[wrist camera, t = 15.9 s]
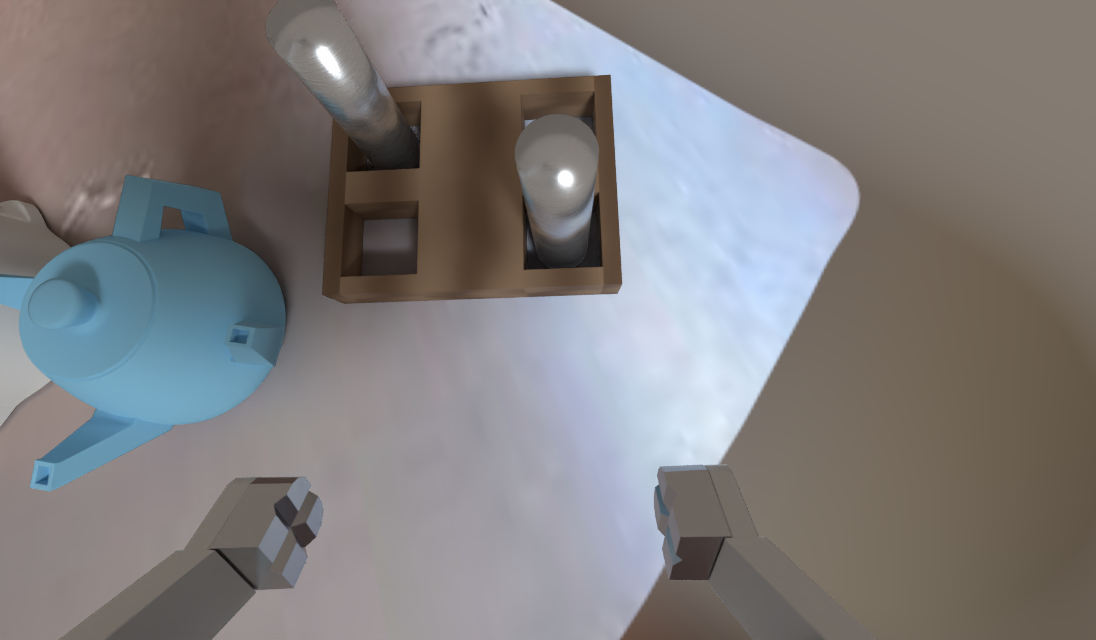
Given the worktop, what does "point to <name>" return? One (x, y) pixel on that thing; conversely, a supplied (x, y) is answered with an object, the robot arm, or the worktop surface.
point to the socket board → (468, 196)
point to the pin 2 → (558, 186)
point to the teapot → (148, 325)
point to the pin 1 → (342, 79)
